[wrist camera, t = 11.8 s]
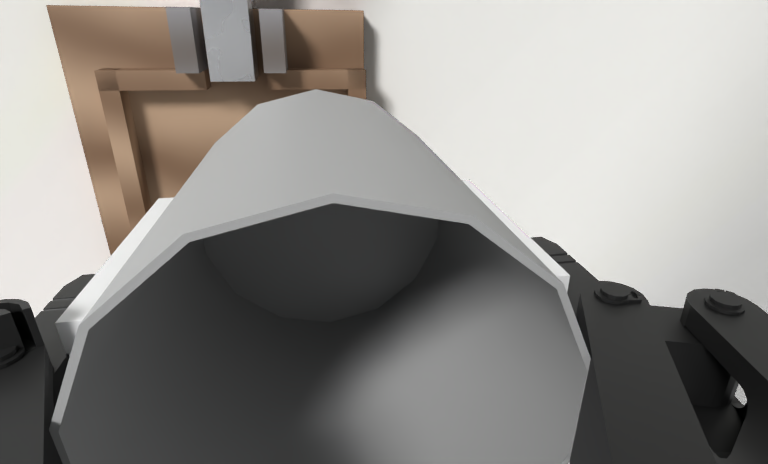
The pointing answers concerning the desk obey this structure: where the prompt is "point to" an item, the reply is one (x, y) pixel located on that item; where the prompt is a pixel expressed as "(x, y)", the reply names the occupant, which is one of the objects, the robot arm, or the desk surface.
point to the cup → (325, 313)
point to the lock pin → (230, 40)
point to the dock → (183, 90)
